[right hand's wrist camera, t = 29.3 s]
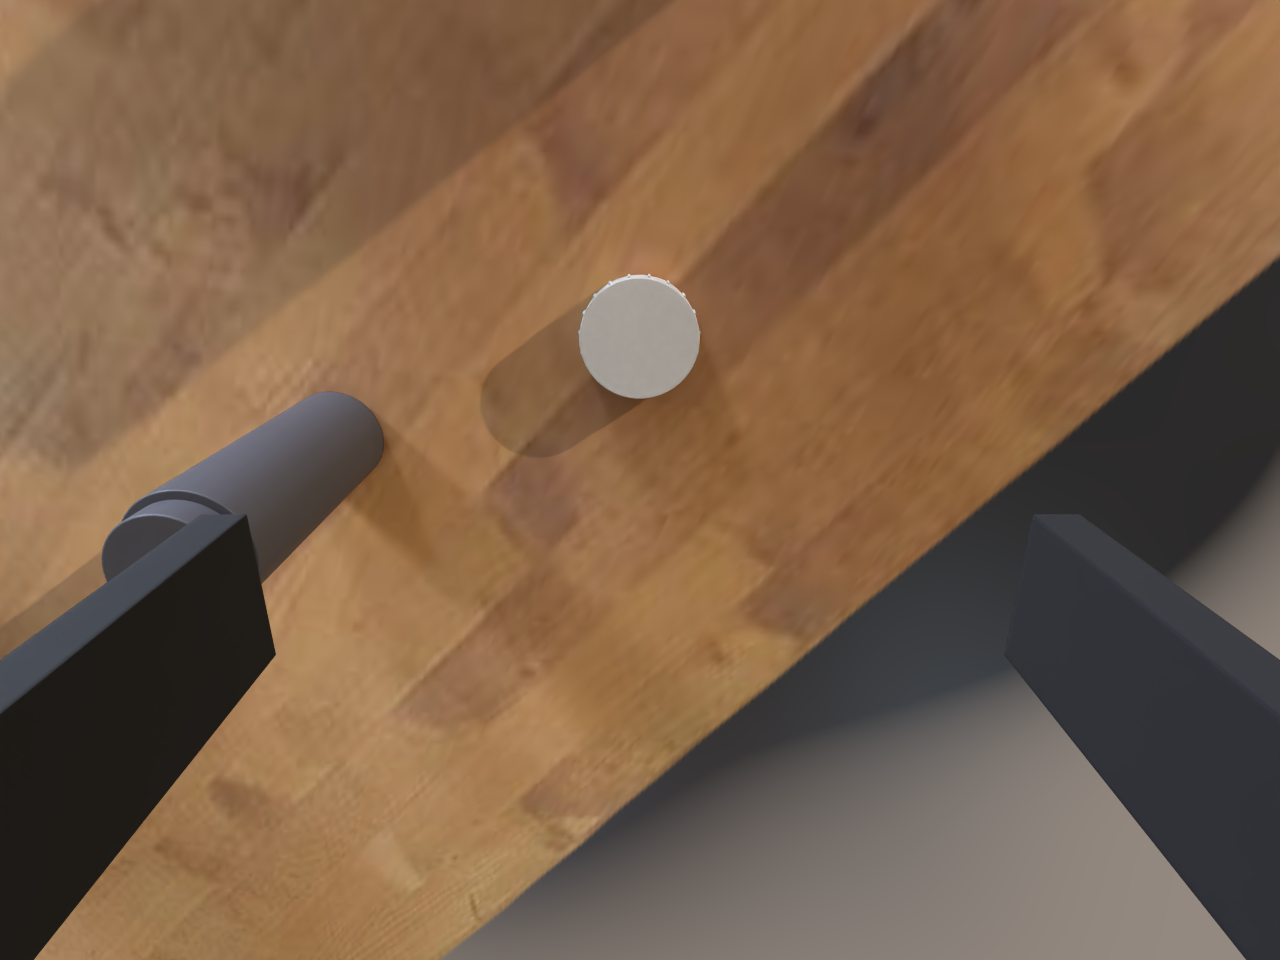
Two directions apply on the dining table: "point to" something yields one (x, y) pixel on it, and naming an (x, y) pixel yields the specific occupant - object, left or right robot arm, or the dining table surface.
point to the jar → (262, 483)
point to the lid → (639, 336)
